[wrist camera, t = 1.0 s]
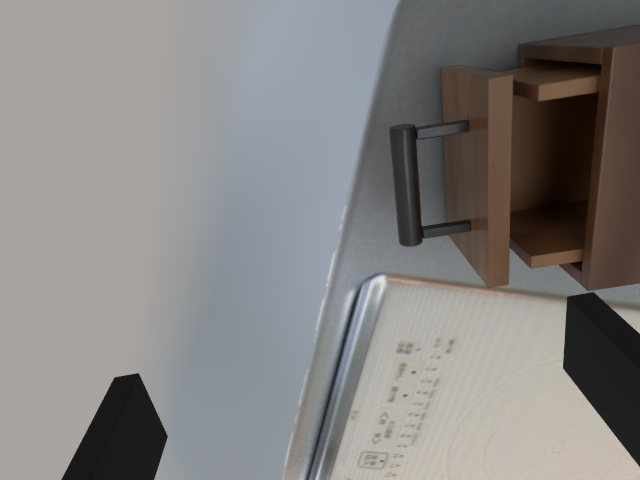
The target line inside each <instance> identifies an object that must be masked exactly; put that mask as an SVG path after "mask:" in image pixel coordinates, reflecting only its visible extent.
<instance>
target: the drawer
mask: <svg viewBox="0 0 640 480" xmlns="http://www.w3.org/2000/svg"><path fill="white" fill-rule="evenodd" d="M601 66H602V65H600V64H589V63H577V62H566V61H561V62H555V63H548V64H542V65H536V66H530V67H524V68H517V69H511V70H505V71H499V72H496V71H490V70H484V69H478V68H472V67H466V66H460V65H459V66H453V67H446V68H442V69H441V79H442V105H443V123H440V124H434V125H427V126H421V127H415V125H413V124H401V125H396V126H393V127H391V128H390V129H389V131H390V142H391V154H392V165H393V177H394V188H395V200H396V211H397V223H398V234H399V243H400V244H401V245H403V246H407V247H411V246H417V245H419V244H421V243H422V241H423V240H422V237H423V238H424V239H425V238H431V237H438V236H444V235H449V237H450V238H451V239H452V241H453V242H454V243H455V245H456V246H457V247H458V249H459V250H460V251H461V253H462V254H463V255H464V257H465V258H466V259H467V261H468V262H469V263H470V264H471V266H472V267H473V268H474V270H475V271H476V272H477V274H478V275H479V276H480V278H481V279H482V280H483V282H484V283H485V284H486V286H487V287H488V288H490V287H497V286H504V285H509V247H510V248H511V249H512V250H513V251H514V252H515V253H516V254H517V255H518V256H519V257H520V258H521V259H522V260H523V261H524V262H525V263H526V264H527V265H528V266H529V267H530V268H531V269H533V268H539V267H546V266H553V265H559V264H566V263H572V262H579V261H583V253H584V242H585V232H586V222H587V211H588V201H589V190H590V180H591V170H592V159H593V149H594V138H595V128H596V118H597V107H598V97H599V86H600V76H601ZM439 136H444V156H445V182H446V207H447V223H442V224H435V225H429V226H422V224H421V208H420V193H419V177H418V161H417V146H416V139H417V140H420V139H426V138H433V137H439Z"/></svg>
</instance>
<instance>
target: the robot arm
mask: <svg viewBox="0 0 640 480" xmlns="http://www.w3.org/2000/svg"><path fill="white" fill-rule="evenodd" d="M563 369H564V370H565V371H566V373H567V374H568V375H569V376H570V378H571V379H572V380H573V382H574V383H575V384H576V385H577V387H578V388H579V389H580V391H581V392H582V393H583V394H584V396H585V397H586V398H587V400H588V401H589V402H590V403H591V405H592V406H593V407H594V409H595V410H596V411H597V412H598V414H599V415H600V416H601V418H602V419H603V420H604V421H605V423H606V424H607V425H608V427H609V428H610V429H611V431H612V432H613V433H614V434H615V436H616V437H617V438H618V440H619V441H620V442H621V443H622V445H623V446H624V447H625V449H626V450H627V451H628V452H629V454H630V455H631V456H632V458H633V459H634V460H635V461H636V463H637V464H638V465H639V467H640V334H639V333H638V332H637V331H636V330H635V329H634V328H633V327H631V326H630V325H629V324H628V323H627V322H626V321H625V320H624V319H623V318H621V317H620V316H619V315H618V314H617V313H616V312H615V311H614V310H613V309H611V308H610V307H609V306H608V305H607V304H606V303H605V302H604V301H603V300H601V299H600V298H599V297H598V296H597V295H596V294H595V293H594V292H592V293H586V294H580V295H575V296H569V297H567V311H566V328H565V345H564V362H563ZM167 437H168V436H167V434H166V431H165V429H164V427H163V425H162V423H161V421H160V418H159V417H158V414H157V412H156V410H155V408H154V405H153V403H152V401H151V399H150V397H149V395H148V392H147V390H146V388H145V386H144V384H143V381H142V380H141V377H140V375H139V374H138V373H137V374H132V375H126V376H121V377H115V378H114V380H113V382H112V383H111V386H110V387H109V390H108V391H107V393H106V395H105V397H104V399H103V401H102V403H101V405H100V407H99V409H98V411H97V412H96V414H95V416H94V418H93V420H92V422H91V424H90V426H89V428H88V430H87V432H86V434H85V436H84V438H83V439H82V441H81V443H80V445H79V447H78V449H77V451H76V453H75V455H74V457H73V459H72V461H71V462H70V464H69V466H68V468H67V470H66V472H65V474H64V476H63V478H62V480H154V478H155V475H156V472H157V469H158V466H159V463H160V459H161V456H162V453H163V449H164V447H165V443H166V440H167Z"/></svg>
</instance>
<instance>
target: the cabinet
mask: <svg viewBox="0 0 640 480" xmlns="http://www.w3.org/2000/svg"><path fill="white" fill-rule="evenodd" d="M561 61H566V62H577V63H589V64H600V65H602V66H601V76H600V86H599V97H598V107H597V118H596V128H595V138H594V149H593V159H592V170H591V180H590V190H589V201H588V211H587V222H586V232H585V242H584V253H583V261H579V262H572V263H566V264H559V266H560V267H561V268H562V269H564V270H565V271H566V272H567V273H568V274H569V275H570V276H572V277H573V278H574V279H575V280H576V281H577V282H578V283H580V284H581V285H582V286H583V287H584V288H585V289H586V290H588V291H592V290H598V289H605V288H612V287H618V286H625V285H632V284H638V283H640V25H634V26H627V27H621V28H615V29H609V30H603V31H597V32H591V33H584V34H578V35H572V36H566V37H560V38H554V39H548V40H542V41H535V42H529V43H523V44H519V51H518V68H524V67H530V66H536V65H542V64H548V63H555V62H561Z"/></svg>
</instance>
